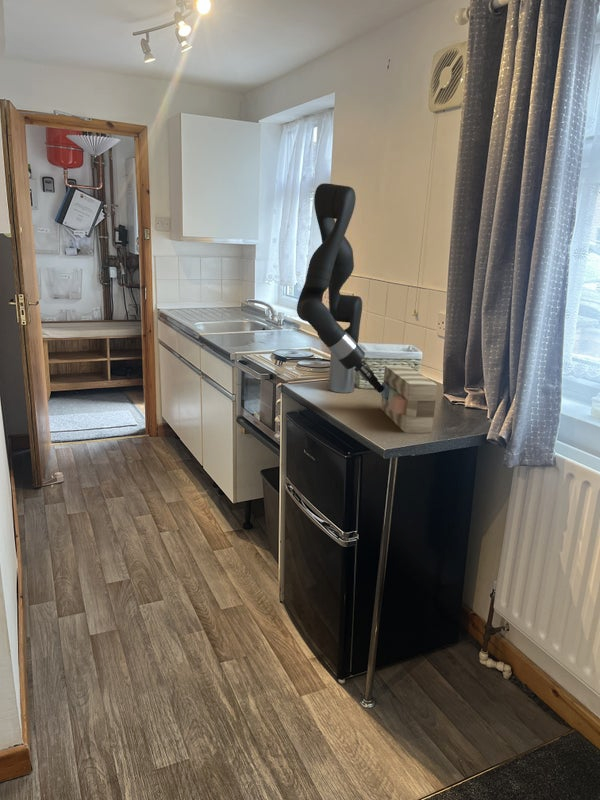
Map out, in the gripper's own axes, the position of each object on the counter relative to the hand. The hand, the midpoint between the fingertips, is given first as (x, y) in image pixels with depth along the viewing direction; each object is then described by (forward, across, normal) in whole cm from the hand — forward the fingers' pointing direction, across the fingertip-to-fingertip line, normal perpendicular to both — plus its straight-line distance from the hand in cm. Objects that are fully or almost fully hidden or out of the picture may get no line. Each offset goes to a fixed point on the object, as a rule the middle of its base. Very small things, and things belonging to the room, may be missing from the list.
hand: (381, 390), depth 182 cm
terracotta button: (+2, -16, +1) cm, 16 cm away
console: (+9, -8, +1) cm, 12 cm away
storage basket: (+13, +36, -3) cm, 38 cm away
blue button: (+3, 0, 0) cm, 3 cm away
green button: (+3, -8, 0) cm, 8 cm away
